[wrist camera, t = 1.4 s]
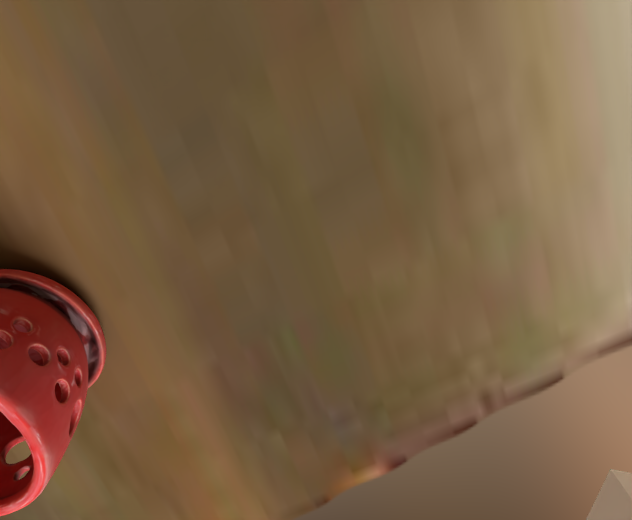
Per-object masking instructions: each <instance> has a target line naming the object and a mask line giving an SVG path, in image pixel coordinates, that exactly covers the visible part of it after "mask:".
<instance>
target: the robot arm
mask: <svg viewBox="0 0 632 520" xmlns="http://www.w3.org/2000/svg"><path fill="white" fill-rule="evenodd" d="M586 520H632V473H628V472H623V471H618V470H612V469H610V471H609V473H608V475H607V477H606V479H605V482H604V484H603V486H602V488H601V490H600V492H599V494H598V496H597V498H596V500H595V503H594V504H593V506H592V509H591V511H590V513H589V515H588V517H587V519H586Z"/></svg>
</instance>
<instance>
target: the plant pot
mask: <svg viewBox="0 0 632 520" xmlns="http://www.w3.org/2000/svg"><path fill="white" fill-rule="evenodd" d="M105 359H106V343H105V338H104V334H103V331H102V328H101V326H100V324H99V322H98V320H97V318H96V316H95V315H94V314H93V312H92V311H91V309H90V308H89V307H88V306H87V305H86V304H85V303H84V302H83V301H82V300H81V299H80V298H79V297H78V296H77V295H75V294H74V293H73V292H72V291H70V290H69V289H67V288H66V287H64V286H63V285H61V284H59V283H57V282H55V281H53V280H51V279H49V278H46V277H44V276H41V275H38V274H35V273H31V272H27V271H22V270H14V269H0V516H3V515H6V514H10V513H12V512H15V511H17V510H19V509H21V508H23V507H25V506H27V505H29V504H30V503H31V502H32V501H34V500H35V499H36V498H37V497H38V496H39V495H40V494H41V492H42V491H43V490H44V488H45V487H46V485H47V483H48V482H49V480H50V478H51V477H52V475H53V473H54V472H55V470H56V468H57V466H58V465H59V463H60V461H61V459H62V457H63V455H64V453H65V451H66V449H67V447H68V445H69V443H70V441H71V438H72V436H73V434H74V432H75V429H76V427H77V425H78V422H79V420H80V417H81V414H82V411H83V407H84V403H85V399H86V395H87V389H88V388H89V387H90V386H91V385H92V384H93V383H94V382H95V381H96V380H97V378H98V377H99V376H100V374H101V372H102V369H103V367H104V364H105ZM25 440H26V442H27V444H28V446H29V449H30V451H31V455H30V456H29V457H28V458H27V459H25V460H23V461H20V462H18V463H16V464H7V463H6V460H5V458H6V455H7V453H8V451H9V450H10V449H11V448H12V447H13V446H14V445H16V444H18V443H20V442H22V441H25ZM28 470H29V471H28ZM26 471H28V473H27V474H26V476H25V477H23V478H22V479H20V480H19V478H20V477H21V475H22V474H23V473H24V472H26Z"/></svg>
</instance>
